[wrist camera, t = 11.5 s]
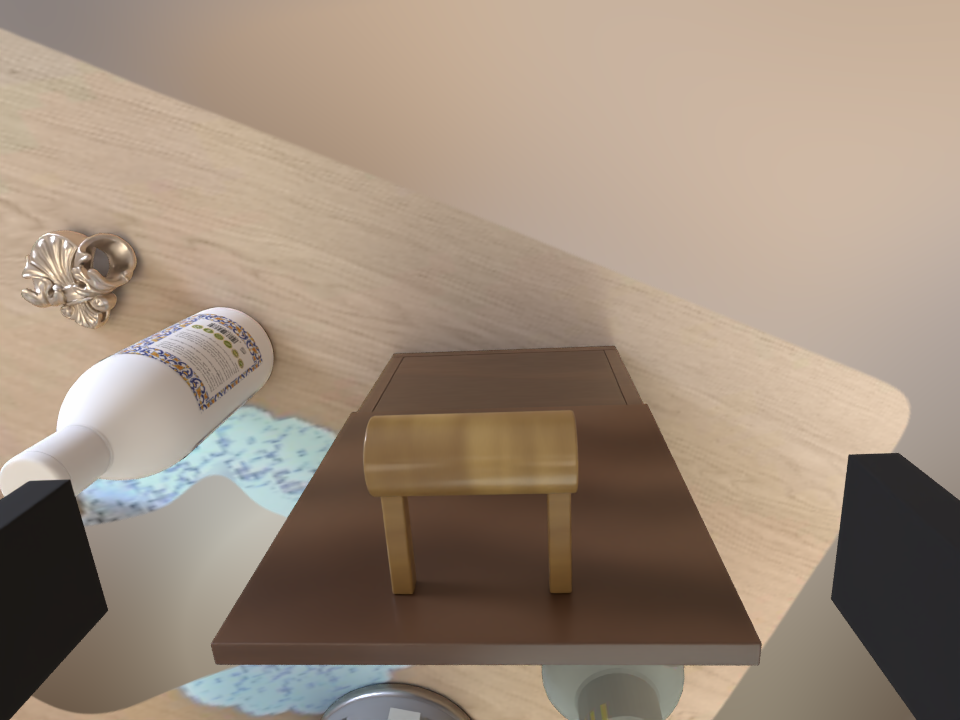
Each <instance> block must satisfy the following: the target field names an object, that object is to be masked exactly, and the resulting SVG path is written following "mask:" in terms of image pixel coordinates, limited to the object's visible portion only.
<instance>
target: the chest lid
mask: <svg viewBox="0 0 960 720" xmlns="http://www.w3.org/2000/svg"><path fill="white" fill-rule="evenodd" d="M761 645H762V643H761V641H760V639H759V637H758V635H757V633H756V631H755V629H754V627H753V624H752V622H751V620H750V618H749V616H748V614H747V612H746V610H745V608H744V606H743V603H742V601H741V599H740V597H739V595H738V593H737V591H736V589H735V587H734V585H733V583H732V580H731V578H730V576H729V574H728V572H727V570H726V568H725V566H724V564H723V562H722V560H721V557H720V555H719V553H718V551H717V549H716V547H715V545H714V543H713V541H712V539H711V537H710V534H709V532H708V530H707V528H706V526H705V524H704V522H703V520H702V518H701V516H700V514H699V511H698V509H697V507H696V505H695V503H694V501H693V499H692V497H691V495H690V493H689V490H688V488H687V486H686V484H685V482H684V480H683V478H682V476H681V474H680V472H679V470H678V467H677V465H676V463H675V461H674V459H673V457H672V455H671V453H670V451H669V449H668V447H667V444H666V442H665V440H664V438H663V436H662V434H661V432H660V430H659V428H658V426H657V424H656V421H655V419H654V417H653V415H652V413H651V411H650V409H649V407H648V405H647V404H629V405H594V406H559V407H524V408H489V409H454V410H419V411H384V412H352V413H351V414H350V416H349V418H348V419H347V421H346V423H345V424H344V426H343V428H342V429H341V431H340V432H339V434H338V436H337V437H336V439H335V441H334V442H333V444H332V446H331V447H330V449H329V451H328V452H327V454H326V455H325V457H324V459H323V460H322V462H321V464H320V465H319V467H318V469H317V470H316V472H315V474H314V475H313V477H312V478H311V480H310V482H309V483H308V485H307V487H306V488H305V490H304V492H303V493H302V495H301V497H300V498H299V500H298V501H297V503H296V505H295V506H294V508H293V510H292V511H291V513H290V515H289V516H288V518H287V520H286V521H285V523H284V524H283V526H282V528H281V529H280V531H279V533H278V535H277V536H276V538H275V539H274V541H273V543H272V544H271V546H270V548H269V549H268V551H267V552H266V554H265V556H264V558H263V559H262V561H261V562H260V564H259V566H258V567H257V569H256V571H255V572H254V574H253V576H252V577H251V579H250V580H249V582H248V584H247V585H246V587H245V589H244V590H243V592H242V594H241V595H240V597H239V598H238V600H237V602H236V603H235V605H234V607H233V608H232V610H231V612H230V613H229V615H228V617H227V618H226V620H225V622H224V623H223V625H222V627H221V628H220V630H219V632H218V633H217V635H216V636H215V638H214V640H213V641H212V643H211V647H212V651H213V655H214V660H215V663H216V664H219V665H232V664H233V665H759V663H760V654H761Z"/></svg>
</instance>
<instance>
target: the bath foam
mask: <svg viewBox="0 0 960 720" xmlns="http://www.w3.org/2000/svg"><path fill="white" fill-rule="evenodd" d="M273 361H274V356H273V349H272V345H271V342H270V340H269V338H268V336H267V334H266V332H265V331H264V329H263V328H262V327H261V326H260V325H259V324H258V323H257V322H256V321H255V320H254V319H253V318H251V317H250V316H248V315H247V314H245V313H243V312H241V311H238V310H235V309H231V308H224V307H216V308H210V309H206V310H203V311H201V312H199V313H197V314H195V315H193V316H190V317H188V318H186V319H184V320H182V321H180V322H178V323H176V324H174V325H172V326H170V327H168V328H166V329H164V330H162V331H160V332H158V333H155V334H153V335H151V336H149V337H147V338H145V339H143V340H141V341H139V342H137V343H135V344H133V345H131V346H129V347H127V348H125V349H123V350H121V351H119V352H117V353H115V354H113V355H111V356H109V357H107V358H105V359H103V360H101V361H100V362H98V363H97V364H95V365H94V366H93V367H91V368H90V369H89V370H87V371H86V372H85V373H84V374H83V375H82V376H81V377H80V378H79V379H78V380H77V381H76V382H75V383H74V385H73V386H72V387H71V389H70V390H69V392H68V393H67V395H66V397H65V399H64V401H63V403H62V406H61V409H60V413H59V417H58V422H57V429H56V432H55V433H54V434H52V435H50V436H48V437H47V438H45V439H43V440H42V441H40V442H38V443H37V444H35V445H33V446H32V447H30V448H28V449H27V450H25V451H23V452H22V453H20V454H18V455H17V456H15V457H13V458H12V459H10V460H9V461H8V462H7V463H6V464H5V465H4V466H3V468H2V469H1V472H0V488H1V491H2V493H3V495H4V496H7V495H8V494H10V493H11V492H13V491H14V490H16V489H17V488H19V487H20V486H22V485H23V484H25V483H26V482H28V481H37V480H69V479H70V480H71V484H72V487H73V490H74V494H75V496H77V495H78V494H79V493H81V492H82V491H83V490H84V489H86V488H87V487H88V486H90V485H91V484H92V483H93V482H95V481H96V480H97V479H106V480H132V479H139V478H144V477H148V476H151V475H154V474H156V473H159V472H161V471H163V470H166V469H168V468H169V467H171V466H173V465H174V464H176V463H178V462H179V461H181V460H182V459H184V458H185V457H186V456H187V455H188V454H190V453H191V452H192V451H193V450H194V449H195V448H196V447H197V446H198V445H199V444H201V443H202V442H203V441H204V440H205V439H206V438H207V437H208V436H209V435H210V434H212V433H213V432H214V431H215V430H216V429H217V428H218V427H219V426H220V425H221V424H223V423H224V422H225V421H226V420H227V419H228V418H229V417H230V416H231V415H232V414H234V413H235V412H236V411H237V410H238V409H239V408H240V407H241V406H242V405H243V404H245V403H246V402H247V401H248V400H249V399H250V398H251V397H252V396H253V395H254V394H255V393H256V392H257V391H258V390H260V389H261V388H262V387H263V385H264V384H265V383H266V382H267V380H268V378H269V376H270V374H271V372H272V368H273Z"/></svg>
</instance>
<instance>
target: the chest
mask: <svg viewBox="0 0 960 720" xmlns="http://www.w3.org/2000/svg"><path fill="white" fill-rule="evenodd" d="M629 404H643V402H642V400H641V398H640V396H639V394H638V392H637V390H636V388H635V386H634V384H633V382H632V380H631V377H630V375H629V373H628V371H627V369H626V367H625V365H624V363H623V361H622V359H621V357H620V355H619V353H618V351H617V349H616V347H615V346H600V347H572V348H544V349H516V350H487V351H459V352H431V353H403V354H393V356H392V358H391V359H390V361H389V362H388V364H387V365H386V367H385V369H384V370H383V372H382V373H381V375H380V377H379V378H378V380H377V381H376V383H375V384H374V386H373V388H372V389H371V391H370V392H369V394H368V396H367V397H366V399H365V400H364V402H363V404H362V405H361V407H360V408H359V410H358V411H357V412H384V411H419V410H454V409H489V408H524V407H559V406H594V405H629Z"/></svg>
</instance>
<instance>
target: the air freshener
mask: <svg viewBox="0 0 960 720" xmlns="http://www.w3.org/2000/svg"><path fill="white" fill-rule="evenodd" d="M542 678H543V684H544V688H545V691H546V693H547V696H548V698H549V700H550V701H551V703H552V704H553V705H554V707H555V708H556V709H557V710H558V711H559V712H560V713H561V714H562V715H563V716H564V717H565V718H567V719H568V720H665V719H666V718H667V717H668V716H669V715H670V714H671V713H672V712H673V710H674V708H675V707H676V705H677V703H678V702H679V699H680V696H681V694H682V691H683V685H684V666H683V665H542Z"/></svg>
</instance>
